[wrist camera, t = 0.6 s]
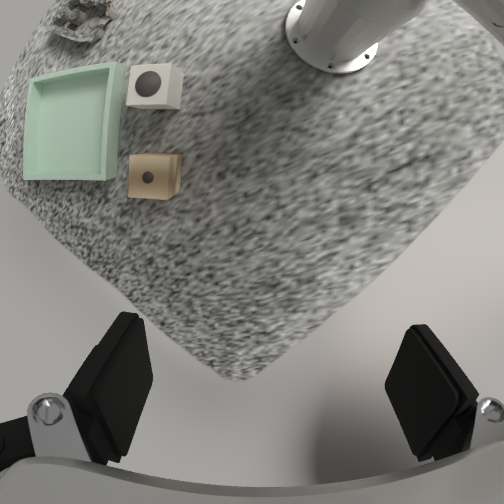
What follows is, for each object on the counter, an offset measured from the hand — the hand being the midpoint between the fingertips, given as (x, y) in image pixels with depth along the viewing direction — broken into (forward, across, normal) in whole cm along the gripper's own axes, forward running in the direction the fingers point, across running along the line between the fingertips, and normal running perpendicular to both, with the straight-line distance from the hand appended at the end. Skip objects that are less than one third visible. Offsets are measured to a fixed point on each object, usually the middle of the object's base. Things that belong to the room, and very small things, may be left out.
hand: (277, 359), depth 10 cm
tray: (+31, +28, -11) cm, 43 cm away
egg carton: (+31, +28, -28) cm, 50 cm away
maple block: (+31, +13, -3) cm, 34 cm away
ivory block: (+31, +14, -14) cm, 36 cm away
